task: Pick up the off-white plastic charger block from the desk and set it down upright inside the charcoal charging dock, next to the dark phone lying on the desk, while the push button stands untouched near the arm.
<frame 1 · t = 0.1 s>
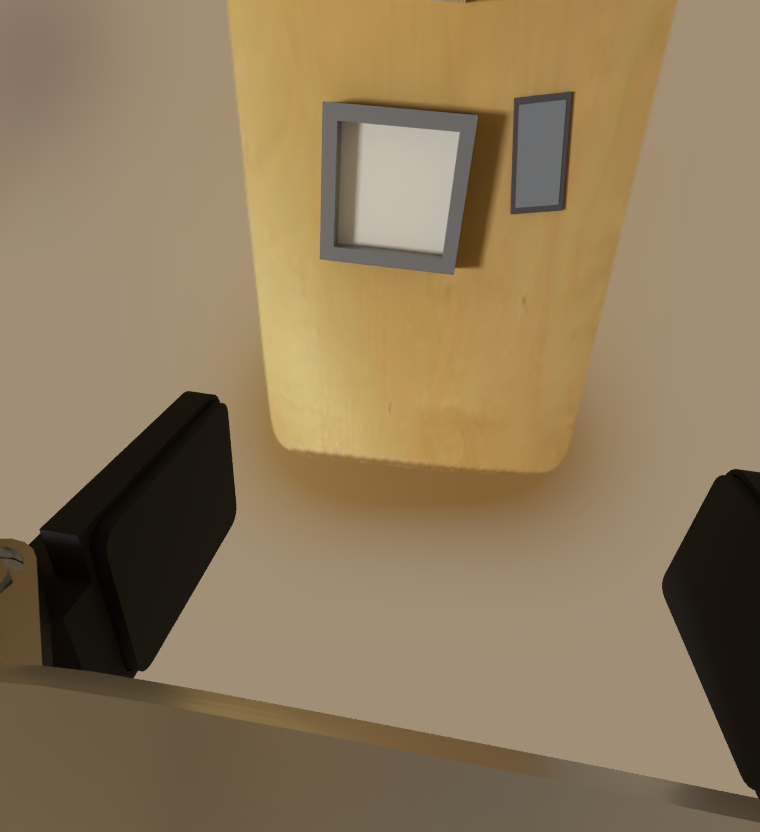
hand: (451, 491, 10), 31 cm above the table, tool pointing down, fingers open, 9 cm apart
dock: (395, 190, 36), on the table
phone: (537, 156, 34), on the table
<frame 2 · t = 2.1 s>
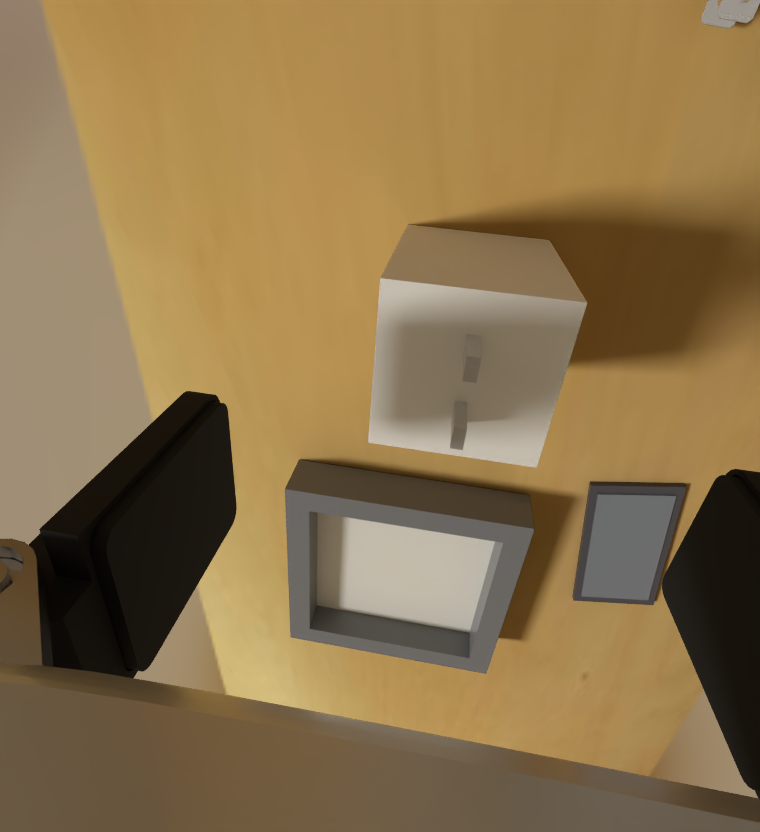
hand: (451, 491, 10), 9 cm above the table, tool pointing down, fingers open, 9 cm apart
dock: (400, 556, 24), on the table
charger: (466, 299, 17), on the table
phone: (619, 535, 22), on the table
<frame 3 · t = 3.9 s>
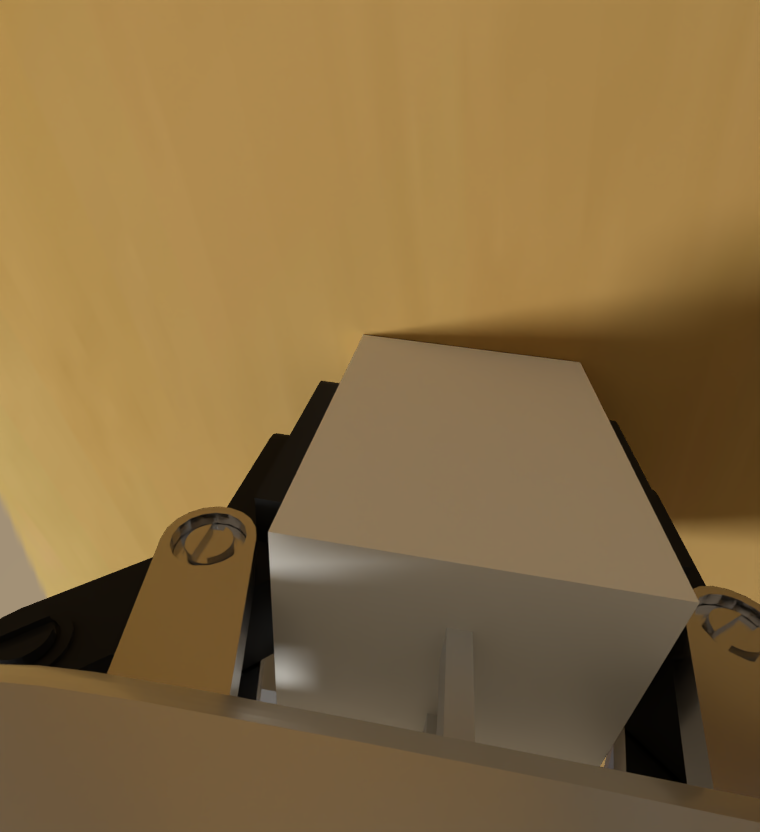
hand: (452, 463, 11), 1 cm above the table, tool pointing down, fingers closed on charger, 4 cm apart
dock: (371, 731, 18), on the table
charger: (453, 438, 11), on the table, touching gripper
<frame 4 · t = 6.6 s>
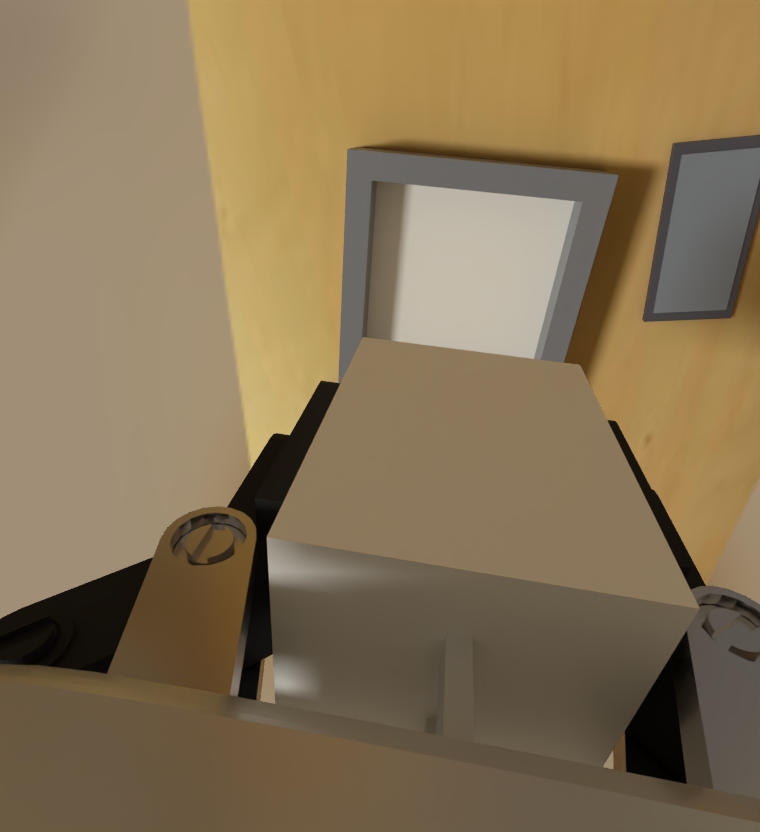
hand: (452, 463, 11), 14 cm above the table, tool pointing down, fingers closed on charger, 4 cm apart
dock: (459, 281, 23), on the table
charger: (452, 440, 11), point 13 cm above the table, touching gripper
phone: (696, 233, 21), on the table
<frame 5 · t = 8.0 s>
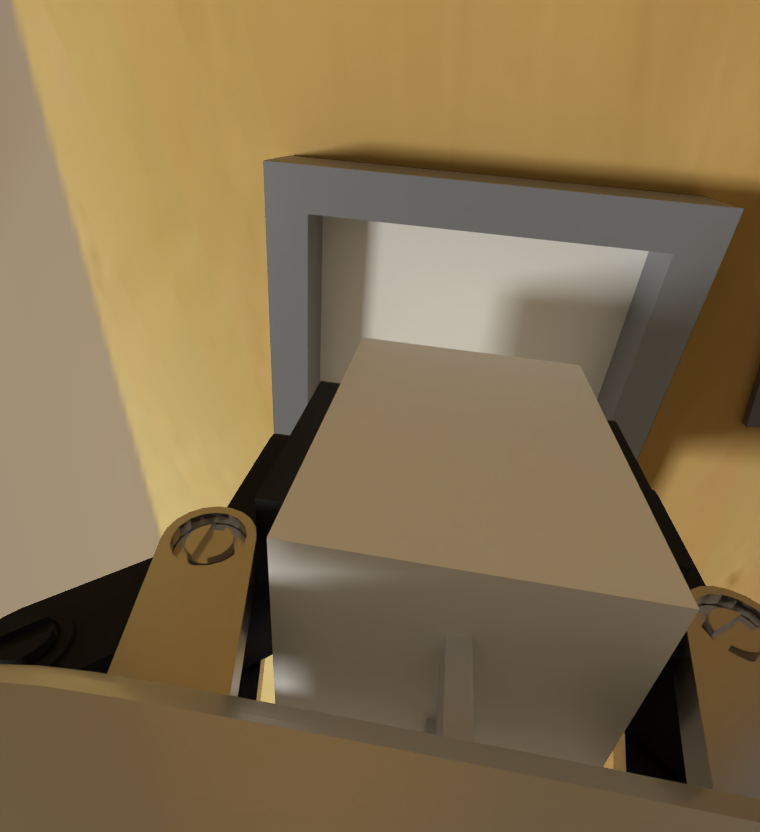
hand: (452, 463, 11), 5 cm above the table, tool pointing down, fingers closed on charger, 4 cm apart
dock: (457, 361, 15), on the table
charger: (452, 441, 11), point 4 cm above the table, touching gripper
when the fingers open (2 cm above the table, at t = 9.3 s): charger stays where it is, resting on dock.
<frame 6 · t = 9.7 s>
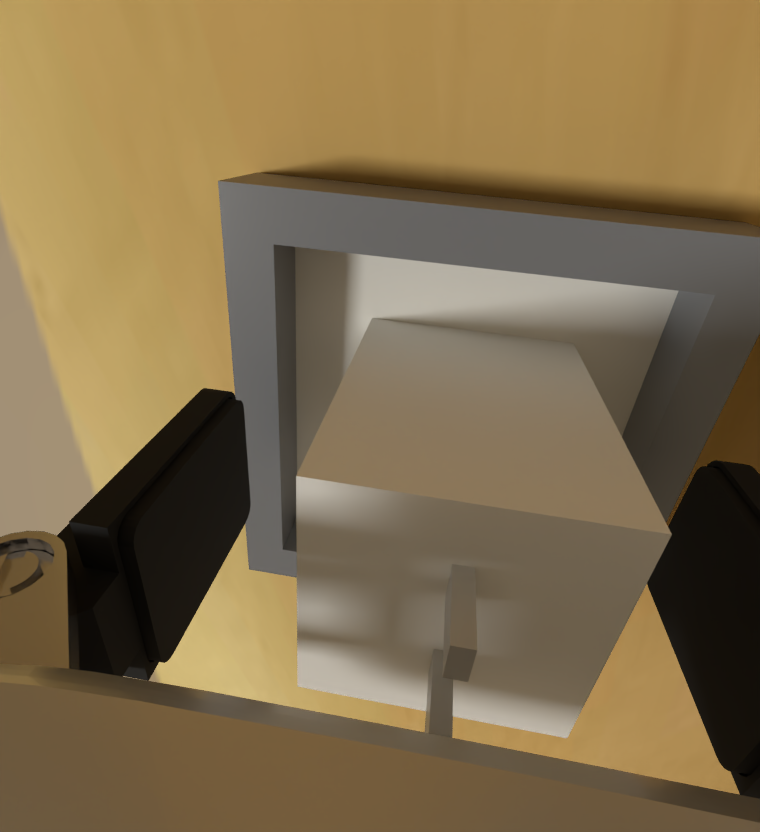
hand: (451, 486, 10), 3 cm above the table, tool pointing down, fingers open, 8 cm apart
dock: (454, 406, 13), on the table
charger: (455, 416, 12), point 1 cm above the table, touching dock
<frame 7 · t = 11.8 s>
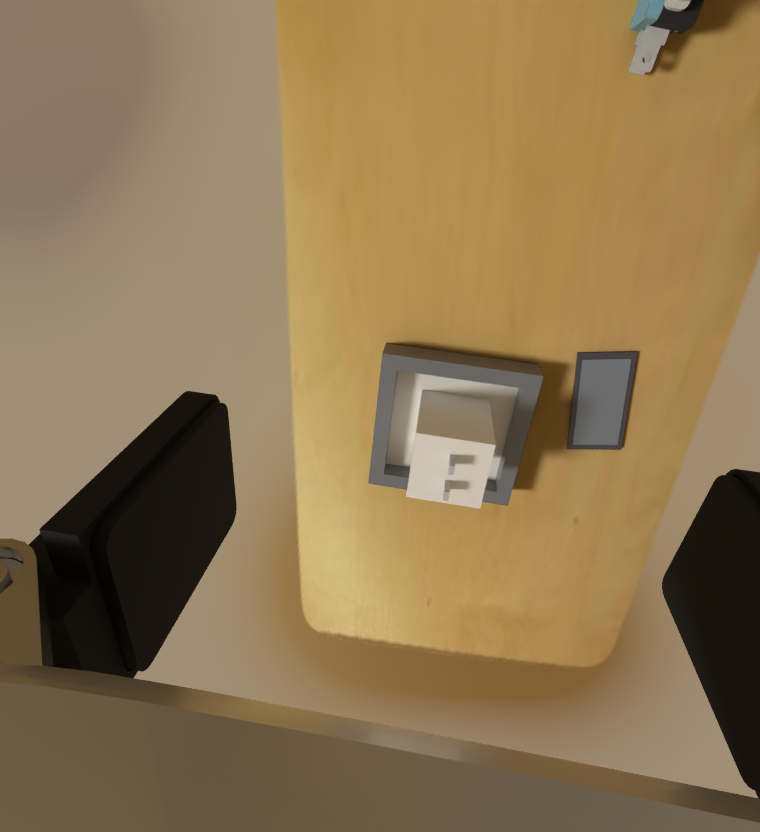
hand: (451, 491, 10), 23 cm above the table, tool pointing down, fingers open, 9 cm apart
dock: (449, 420, 35), on the table
charger: (449, 423, 34), point 1 cm above the table, touching dock
phone: (597, 398, 33), on the table
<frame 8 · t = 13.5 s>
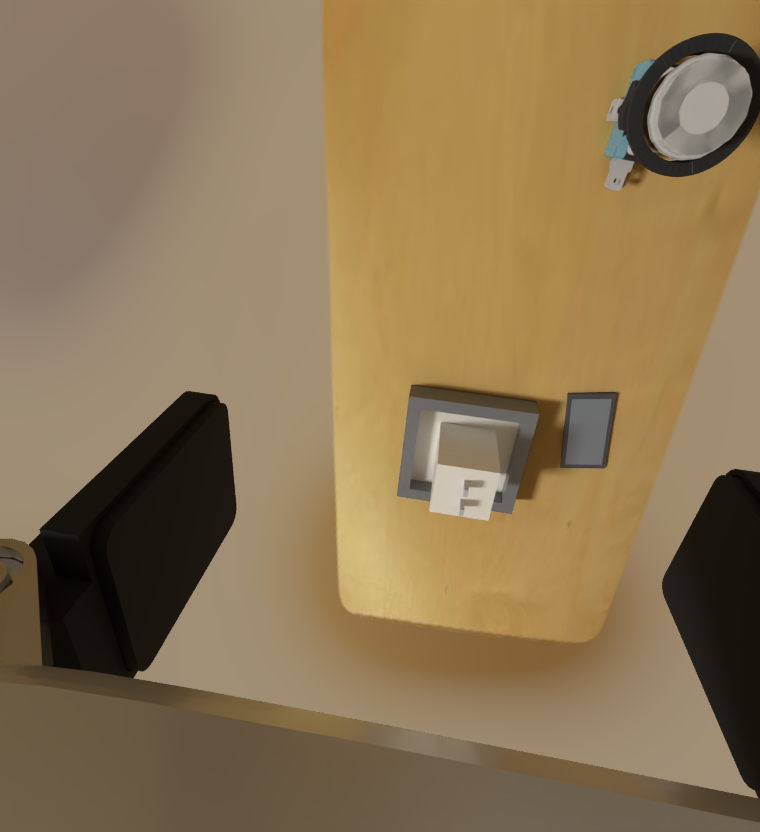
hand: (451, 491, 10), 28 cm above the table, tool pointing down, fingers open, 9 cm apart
dock: (463, 444, 42), on the table
charger: (463, 448, 42), point 1 cm above the table, touching dock
phone: (585, 427, 41), on the table
push button: (627, 127, 30), on the table
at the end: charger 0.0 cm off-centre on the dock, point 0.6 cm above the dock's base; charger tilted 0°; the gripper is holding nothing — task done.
